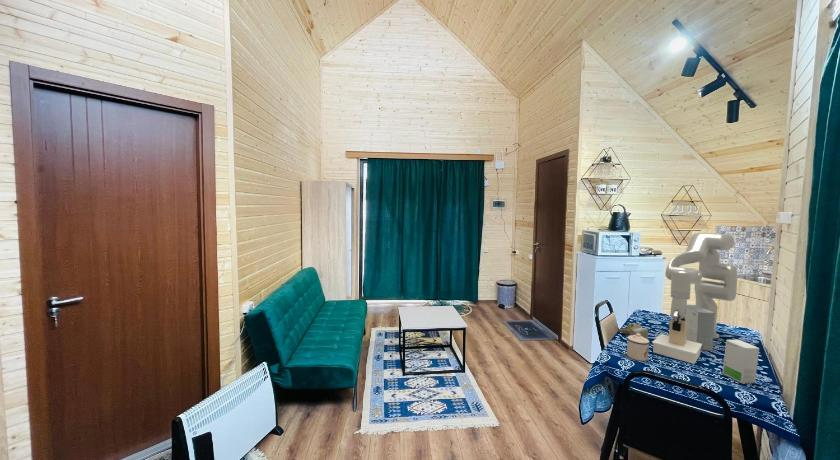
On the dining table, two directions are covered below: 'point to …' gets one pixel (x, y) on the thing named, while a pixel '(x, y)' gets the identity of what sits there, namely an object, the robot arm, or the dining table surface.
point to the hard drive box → (700, 326)
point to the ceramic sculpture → (635, 330)
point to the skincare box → (740, 361)
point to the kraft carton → (678, 334)
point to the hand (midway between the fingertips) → (678, 328)
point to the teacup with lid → (637, 347)
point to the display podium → (677, 349)
